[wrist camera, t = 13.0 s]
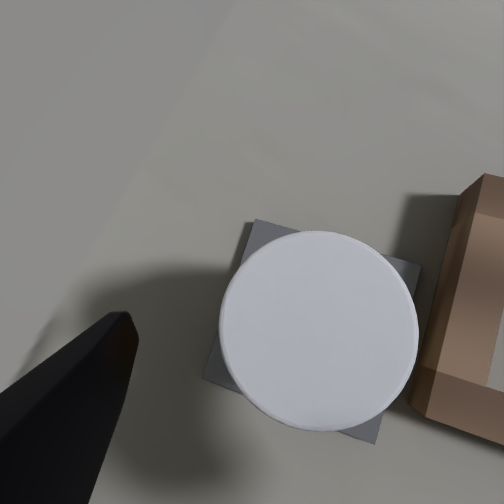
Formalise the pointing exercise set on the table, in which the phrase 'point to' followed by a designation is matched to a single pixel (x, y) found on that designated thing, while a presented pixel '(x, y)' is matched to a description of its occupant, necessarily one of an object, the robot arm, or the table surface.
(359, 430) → the rubber mat
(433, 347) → the walnut collar
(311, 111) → the table surface
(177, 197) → the table surface
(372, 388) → the supplement bottle
